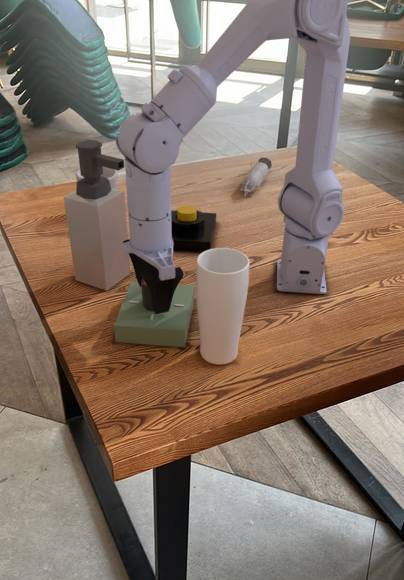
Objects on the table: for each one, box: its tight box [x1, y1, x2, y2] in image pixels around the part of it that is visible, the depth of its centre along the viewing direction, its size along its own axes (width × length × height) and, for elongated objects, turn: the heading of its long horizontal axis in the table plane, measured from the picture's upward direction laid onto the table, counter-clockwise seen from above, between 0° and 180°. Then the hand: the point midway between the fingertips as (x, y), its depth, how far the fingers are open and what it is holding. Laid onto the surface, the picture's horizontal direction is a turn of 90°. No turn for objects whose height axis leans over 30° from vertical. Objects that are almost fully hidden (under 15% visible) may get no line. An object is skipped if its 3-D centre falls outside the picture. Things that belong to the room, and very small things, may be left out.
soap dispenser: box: [63, 139, 131, 291], centre depth 89 cm, size 6×9×22 cm
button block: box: [171, 209, 217, 253], centre depth 107 cm, size 12×10×4 cm
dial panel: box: [113, 280, 195, 348], centre depth 85 cm, size 12×10×3 cm
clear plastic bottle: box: [239, 156, 273, 197], centre depth 126 cm, size 18×5×7 cm, turn 161°
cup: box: [75, 167, 119, 190], centre depth 112 cm, size 11×8×8 cm
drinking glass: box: [195, 247, 251, 366], centre depth 76 cm, size 7×7×15 cm
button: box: [176, 205, 198, 222], centre depth 105 cm, size 4×4×2 cm
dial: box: [141, 278, 154, 311], centre depth 83 cm, size 4×4×4 cm
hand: (153, 297), depth 85 cm, fingers open, 7 cm apart
